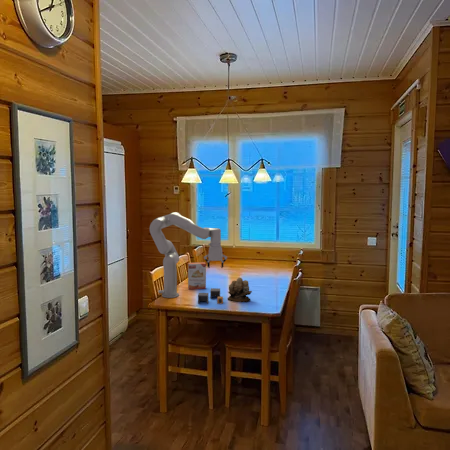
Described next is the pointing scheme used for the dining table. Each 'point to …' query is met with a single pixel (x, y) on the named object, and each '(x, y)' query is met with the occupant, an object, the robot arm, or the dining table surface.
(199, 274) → the cracker box
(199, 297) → the left cover
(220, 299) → the letter cube
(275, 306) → the dining table surface
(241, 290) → the brown stone statue
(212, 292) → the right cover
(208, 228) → the robot arm
